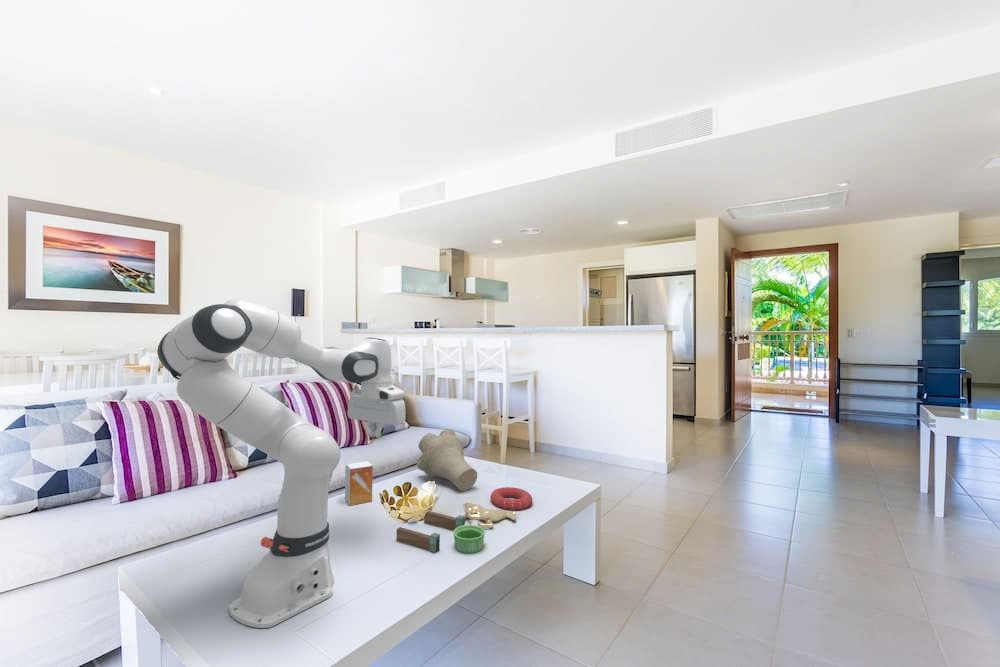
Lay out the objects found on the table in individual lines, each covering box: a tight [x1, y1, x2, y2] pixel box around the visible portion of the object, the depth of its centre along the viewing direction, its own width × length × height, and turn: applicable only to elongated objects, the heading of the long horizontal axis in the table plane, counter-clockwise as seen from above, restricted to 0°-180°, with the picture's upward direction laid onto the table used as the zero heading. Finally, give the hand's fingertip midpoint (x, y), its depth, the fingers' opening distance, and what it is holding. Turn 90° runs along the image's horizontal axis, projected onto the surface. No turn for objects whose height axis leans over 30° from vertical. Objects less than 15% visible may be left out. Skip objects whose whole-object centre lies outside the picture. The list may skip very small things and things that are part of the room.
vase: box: [416, 428, 478, 492], centre depth 177 cm, size 23×23×30 cm
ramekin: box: [453, 524, 486, 554], centre depth 129 cm, size 9×9×4 cm
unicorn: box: [462, 502, 522, 529], centre depth 148 cm, size 20×4×17 cm
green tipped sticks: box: [396, 510, 466, 554], centre depth 134 cm, size 16×14×4 cm
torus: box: [490, 486, 533, 511], centre depth 161 cm, size 16×14×4 cm
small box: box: [344, 460, 374, 506], centre depth 160 cm, size 8×6×13 cm
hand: (375, 436), depth 136 cm, fingers closed
